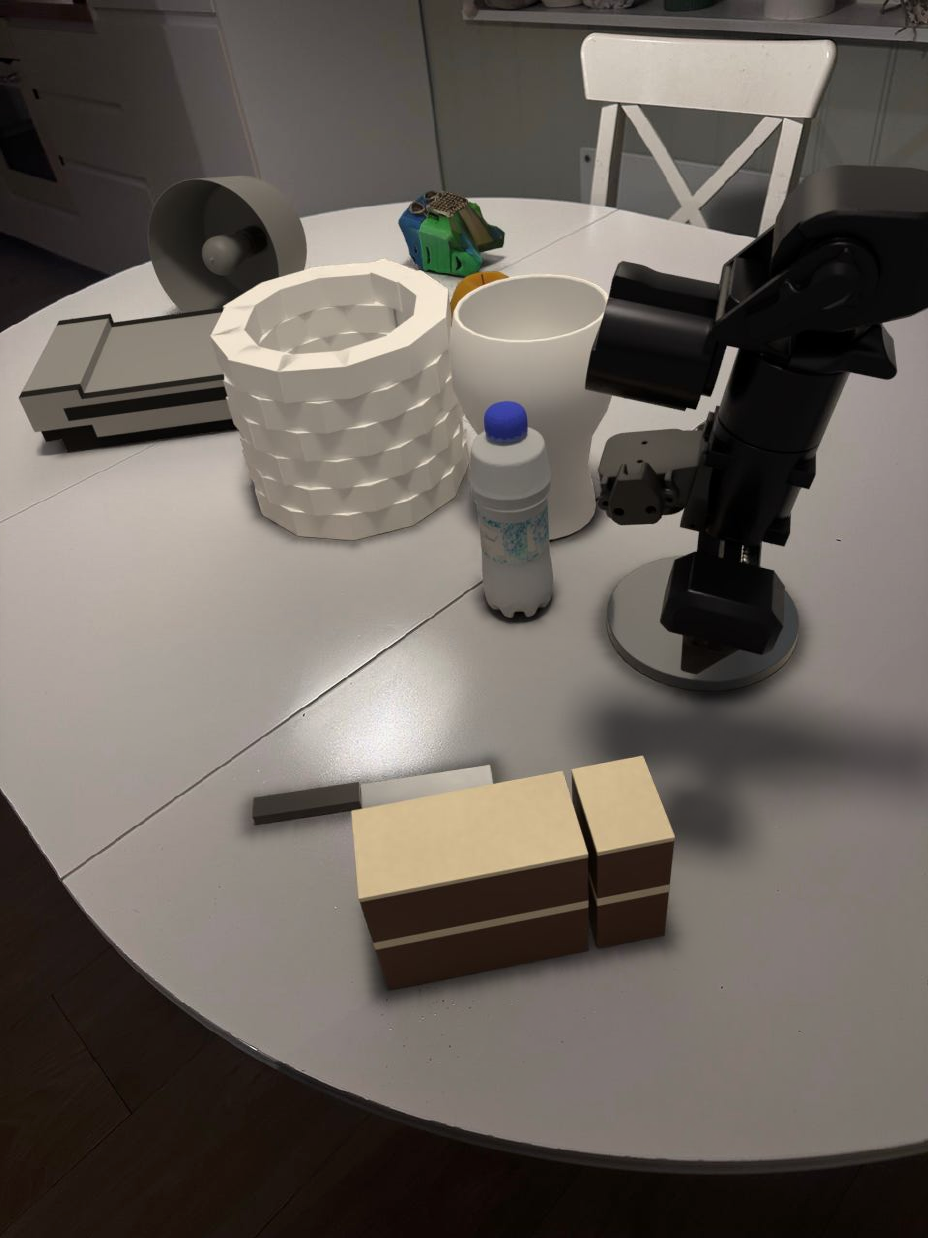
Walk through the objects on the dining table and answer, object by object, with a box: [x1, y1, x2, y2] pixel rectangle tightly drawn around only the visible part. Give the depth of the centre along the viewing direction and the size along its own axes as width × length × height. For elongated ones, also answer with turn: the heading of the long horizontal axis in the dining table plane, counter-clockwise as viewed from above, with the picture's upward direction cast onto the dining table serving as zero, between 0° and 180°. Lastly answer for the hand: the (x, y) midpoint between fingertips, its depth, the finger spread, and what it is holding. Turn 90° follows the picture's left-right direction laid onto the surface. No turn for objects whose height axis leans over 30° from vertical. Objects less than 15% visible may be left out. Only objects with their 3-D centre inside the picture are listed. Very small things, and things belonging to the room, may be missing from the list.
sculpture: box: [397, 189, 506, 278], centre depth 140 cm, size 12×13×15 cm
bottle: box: [468, 401, 554, 618], centre depth 77 cm, size 7×7×20 cm
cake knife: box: [251, 764, 495, 825], centre depth 69 cm, size 18×2×1 cm, turn 96°
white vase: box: [449, 273, 613, 541], centre depth 87 cm, size 15×15×22 cm
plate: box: [606, 554, 800, 692], centre depth 79 cm, size 16×16×1 cm
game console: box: [18, 308, 238, 453], centre depth 116 cm, size 21×32×8 cm, turn 96°
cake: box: [350, 770, 590, 991], centre depth 57 cm, size 13×6×11 cm, turn 99°
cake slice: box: [570, 755, 676, 949], centre depth 57 cm, size 4×6×11 cm
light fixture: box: [147, 175, 308, 313], centre depth 137 cm, size 20×25×27 cm
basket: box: [210, 258, 470, 541], centre depth 96 cm, size 25×24×19 cm
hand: (695, 622), depth 61 cm, fingers open, 9 cm apart
